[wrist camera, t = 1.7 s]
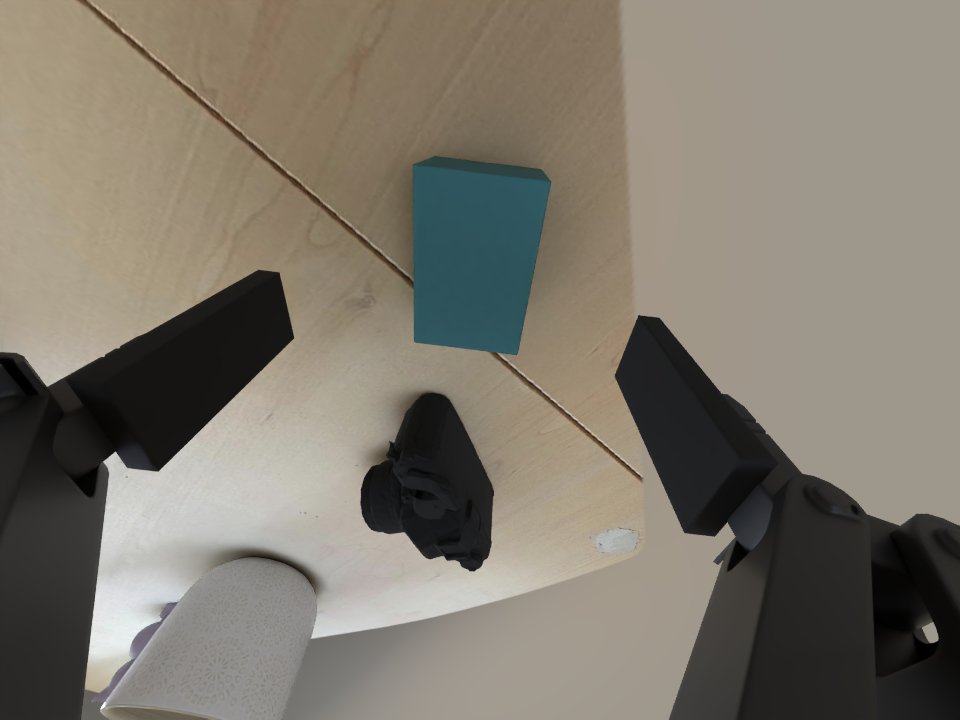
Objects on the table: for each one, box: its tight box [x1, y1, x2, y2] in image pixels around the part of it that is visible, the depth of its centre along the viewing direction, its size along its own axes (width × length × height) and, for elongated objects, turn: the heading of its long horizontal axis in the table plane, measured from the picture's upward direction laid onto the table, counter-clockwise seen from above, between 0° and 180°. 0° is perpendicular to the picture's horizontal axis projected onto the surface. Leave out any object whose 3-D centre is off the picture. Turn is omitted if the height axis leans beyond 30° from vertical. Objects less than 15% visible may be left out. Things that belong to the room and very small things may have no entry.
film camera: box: [361, 393, 494, 571], centre depth 29 cm, size 15×10×9 cm, turn 18°
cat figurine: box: [91, 603, 177, 702], centre depth 54 cm, size 8×8×12 cm
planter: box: [101, 557, 317, 720], centre depth 43 cm, size 17×17×15 cm
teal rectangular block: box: [413, 156, 551, 355], centre depth 19 cm, size 9×6×5 cm, turn 174°
